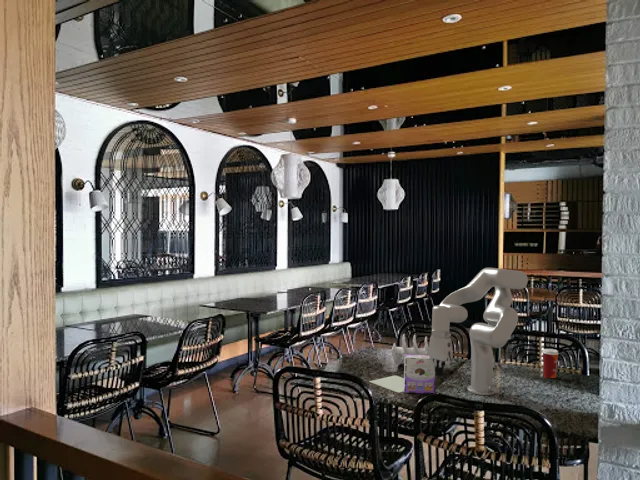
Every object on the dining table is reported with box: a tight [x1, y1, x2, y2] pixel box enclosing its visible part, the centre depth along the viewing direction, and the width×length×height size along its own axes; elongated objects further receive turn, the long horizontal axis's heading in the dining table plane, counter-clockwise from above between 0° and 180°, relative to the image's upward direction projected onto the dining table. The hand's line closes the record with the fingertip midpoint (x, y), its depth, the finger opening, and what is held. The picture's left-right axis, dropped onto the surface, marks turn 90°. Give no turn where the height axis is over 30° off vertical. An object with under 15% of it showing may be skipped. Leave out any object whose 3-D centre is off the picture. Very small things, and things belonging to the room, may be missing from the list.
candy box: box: [403, 354, 436, 395], centre depth 225 cm, size 14×6×16 cm, turn 84°
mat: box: [368, 375, 405, 394], centre depth 237 cm, size 20×18×1 cm
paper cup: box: [541, 348, 559, 379], centre depth 251 cm, size 8×8×14 cm
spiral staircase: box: [391, 333, 429, 366], centre depth 267 cm, size 18×18×25 cm
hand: (439, 375), depth 216 cm, fingers closed
